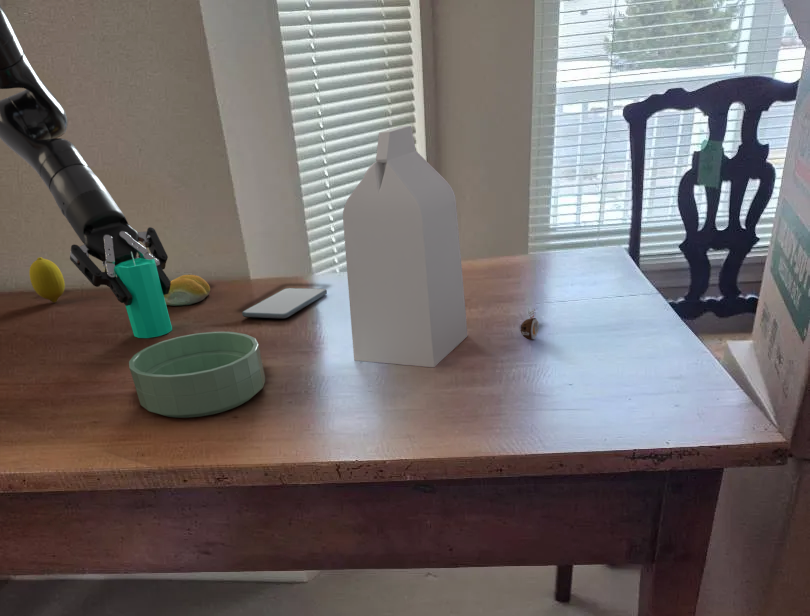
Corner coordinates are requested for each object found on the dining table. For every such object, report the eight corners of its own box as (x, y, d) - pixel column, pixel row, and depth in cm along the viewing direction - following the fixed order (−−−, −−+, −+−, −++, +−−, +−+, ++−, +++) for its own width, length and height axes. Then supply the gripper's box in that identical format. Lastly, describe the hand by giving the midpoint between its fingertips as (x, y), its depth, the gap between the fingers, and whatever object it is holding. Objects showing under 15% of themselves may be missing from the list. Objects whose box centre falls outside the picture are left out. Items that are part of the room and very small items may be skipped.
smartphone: (328, 288, 124) (285, 314, 113) (329, 294, 125) (286, 320, 113) (285, 287, 127) (239, 312, 115) (286, 293, 127) (240, 318, 116)
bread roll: (215, 290, 133) (210, 267, 130) (202, 305, 125) (197, 281, 123) (170, 294, 133) (165, 271, 131) (155, 308, 126) (149, 284, 123)
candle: (153, 339, 111) (130, 257, 104) (125, 336, 114) (101, 255, 107) (180, 327, 115) (160, 247, 109) (153, 324, 118) (132, 246, 111)
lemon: (45, 308, 132) (29, 262, 127) (34, 303, 135) (18, 258, 131) (75, 300, 135) (60, 255, 130) (64, 296, 138) (49, 252, 134)
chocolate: (526, 334, 100) (527, 304, 98) (541, 336, 99) (542, 306, 96) (516, 341, 98) (516, 311, 96) (531, 343, 97) (531, 313, 94)
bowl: (201, 431, 82) (189, 384, 79) (116, 408, 89) (102, 365, 86) (291, 382, 92) (283, 340, 89) (207, 366, 99) (198, 326, 96)
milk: (434, 367, 92) (419, 133, 78) (354, 360, 97) (326, 138, 82) (467, 336, 101) (460, 120, 86) (393, 330, 105) (374, 125, 91)
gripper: (43, 196, 104) (107, 293, 103) (134, 180, 112) (195, 269, 111) (41, 233, 110) (102, 324, 109) (127, 214, 118) (185, 299, 117)
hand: (148, 296), depth 110 cm, fingers open, 5 cm apart
